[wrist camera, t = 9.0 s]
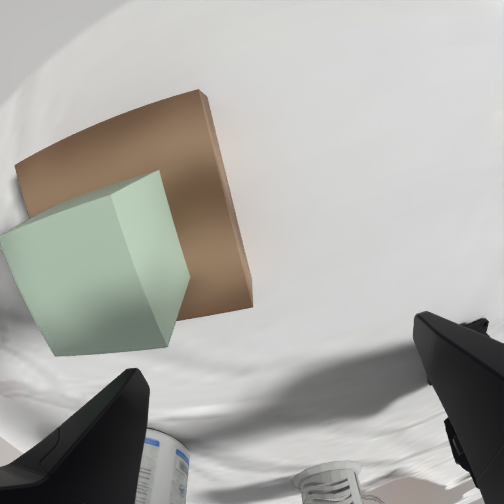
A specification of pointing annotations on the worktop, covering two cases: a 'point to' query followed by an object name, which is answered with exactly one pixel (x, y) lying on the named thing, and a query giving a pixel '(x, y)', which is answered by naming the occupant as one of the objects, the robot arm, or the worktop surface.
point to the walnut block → (174, 182)
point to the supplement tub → (162, 470)
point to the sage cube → (102, 269)
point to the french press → (332, 483)
